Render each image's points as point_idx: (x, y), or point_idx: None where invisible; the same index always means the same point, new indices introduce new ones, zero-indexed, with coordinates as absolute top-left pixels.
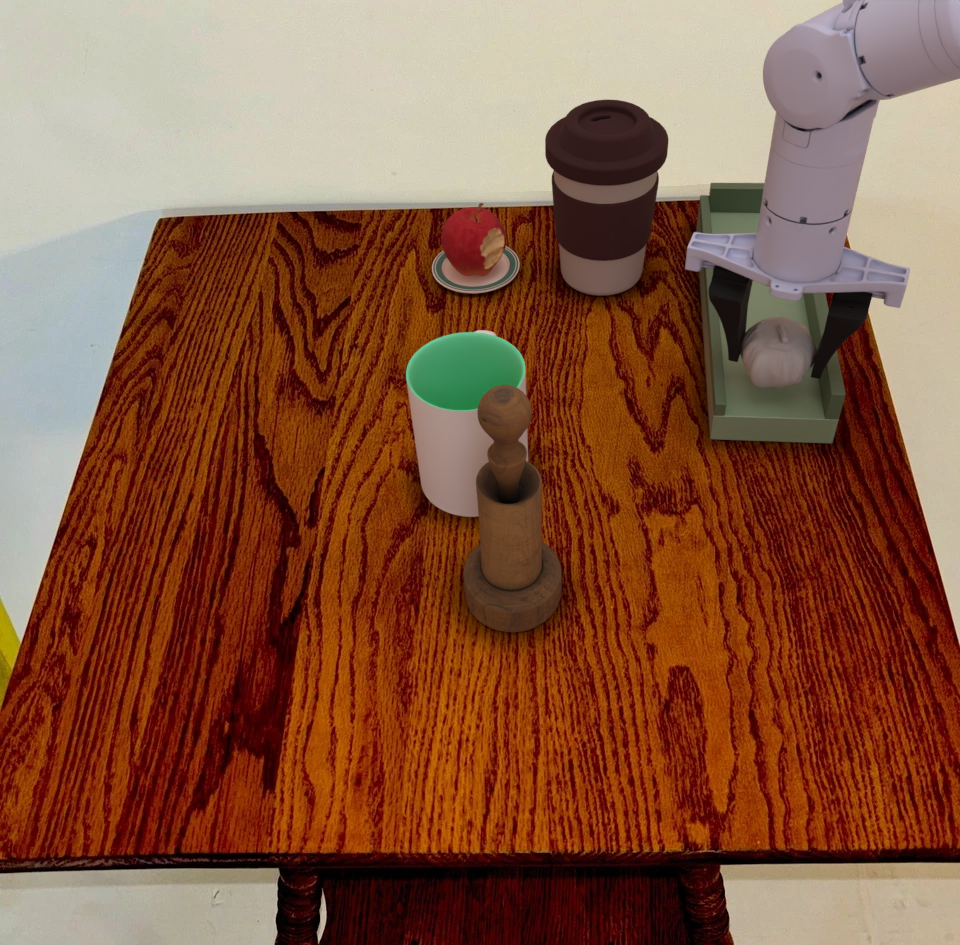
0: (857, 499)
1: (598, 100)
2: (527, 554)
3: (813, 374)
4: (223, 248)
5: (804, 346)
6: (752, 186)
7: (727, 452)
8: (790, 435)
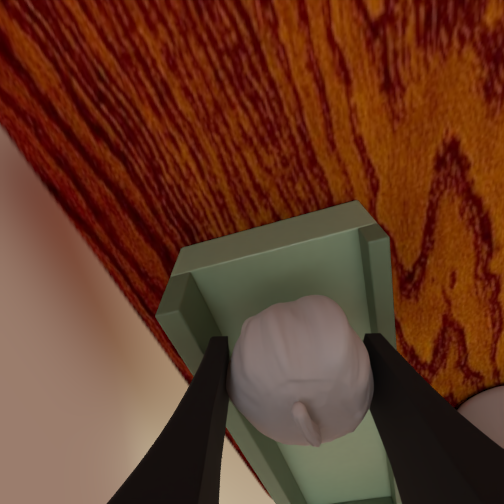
0: (105, 147)
1: None
2: None
3: (222, 341)
4: None
5: (251, 399)
6: None
7: (327, 181)
8: (239, 238)
